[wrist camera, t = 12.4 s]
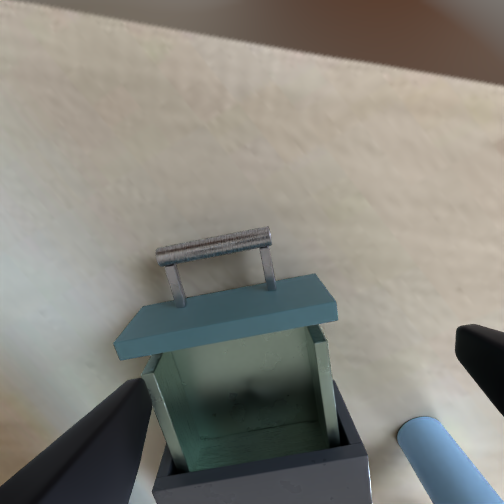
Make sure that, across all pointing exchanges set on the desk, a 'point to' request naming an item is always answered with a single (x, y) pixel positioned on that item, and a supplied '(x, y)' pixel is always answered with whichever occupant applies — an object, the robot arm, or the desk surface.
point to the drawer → (237, 362)
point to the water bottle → (443, 465)
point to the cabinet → (277, 475)
